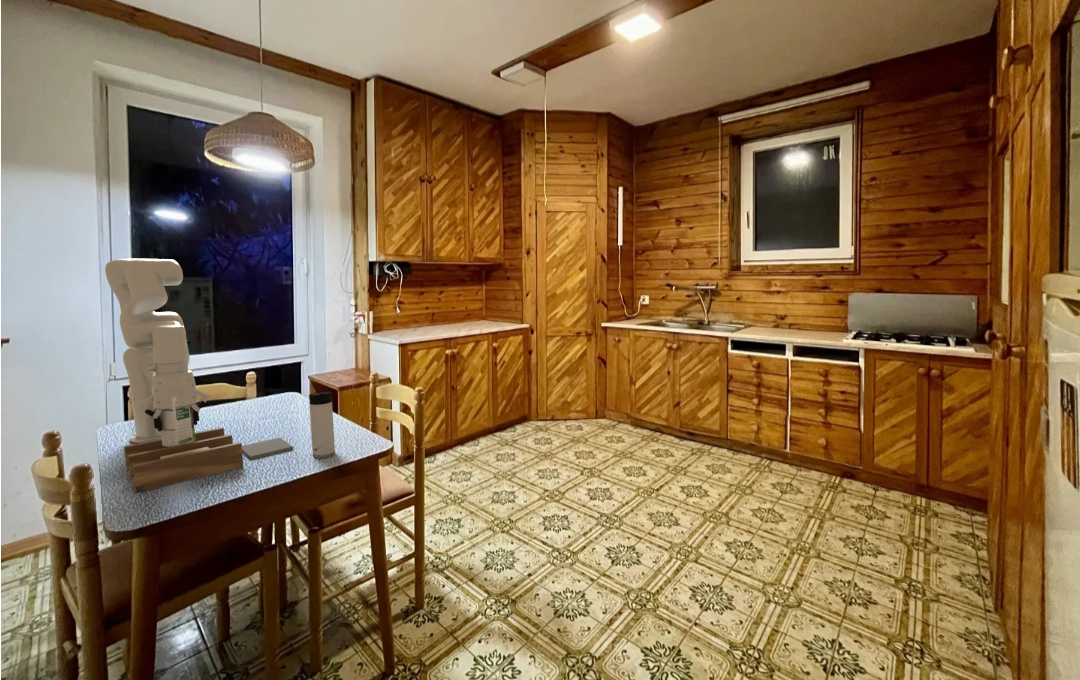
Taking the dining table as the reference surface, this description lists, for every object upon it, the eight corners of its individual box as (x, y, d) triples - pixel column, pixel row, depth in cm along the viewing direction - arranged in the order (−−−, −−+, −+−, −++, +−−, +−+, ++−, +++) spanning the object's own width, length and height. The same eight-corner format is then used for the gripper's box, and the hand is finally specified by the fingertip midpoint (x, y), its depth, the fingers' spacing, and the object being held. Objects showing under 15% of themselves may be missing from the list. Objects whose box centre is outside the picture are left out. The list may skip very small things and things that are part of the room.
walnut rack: (126, 469, 138) (123, 446, 137) (224, 448, 155) (222, 427, 154) (136, 493, 124) (133, 466, 123) (243, 466, 140) (241, 443, 140)
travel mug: (315, 460, 145) (311, 395, 142) (310, 454, 150) (306, 390, 147) (337, 456, 149) (333, 392, 146) (332, 449, 154) (328, 388, 151)
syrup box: (177, 447, 139) (173, 397, 137) (161, 446, 140) (156, 396, 139) (196, 441, 144) (192, 393, 143) (179, 440, 145) (175, 392, 144)
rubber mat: (239, 449, 154) (238, 446, 154) (280, 440, 163) (279, 437, 162) (250, 459, 146) (250, 456, 146) (292, 449, 154) (292, 446, 154)
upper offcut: (161, 467, 133) (160, 456, 133) (208, 456, 141) (207, 446, 141) (165, 473, 130) (164, 462, 129) (213, 461, 138) (212, 451, 137)
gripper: (134, 374, 130) (141, 437, 133) (210, 366, 143) (215, 423, 145) (130, 370, 136) (137, 430, 138) (204, 362, 148) (209, 417, 151)
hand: (177, 426), depth 142 cm, fingers closed on syrup box, 7 cm apart
